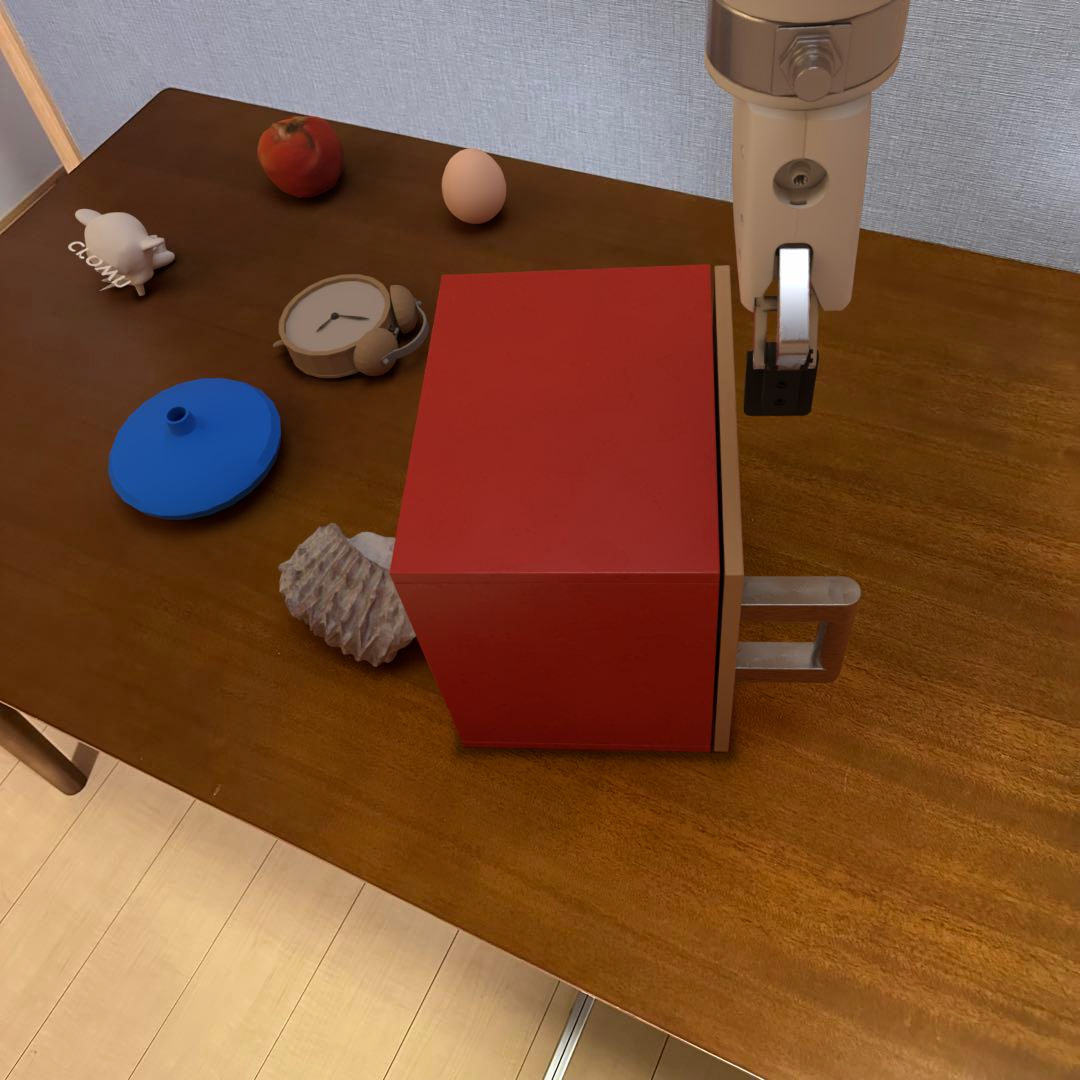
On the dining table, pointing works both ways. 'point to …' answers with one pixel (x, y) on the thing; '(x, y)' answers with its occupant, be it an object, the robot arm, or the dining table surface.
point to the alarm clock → (349, 326)
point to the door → (762, 595)
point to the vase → (195, 448)
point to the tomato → (301, 155)
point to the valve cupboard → (567, 509)
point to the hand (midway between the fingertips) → (773, 339)
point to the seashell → (347, 593)
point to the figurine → (121, 248)
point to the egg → (473, 186)
